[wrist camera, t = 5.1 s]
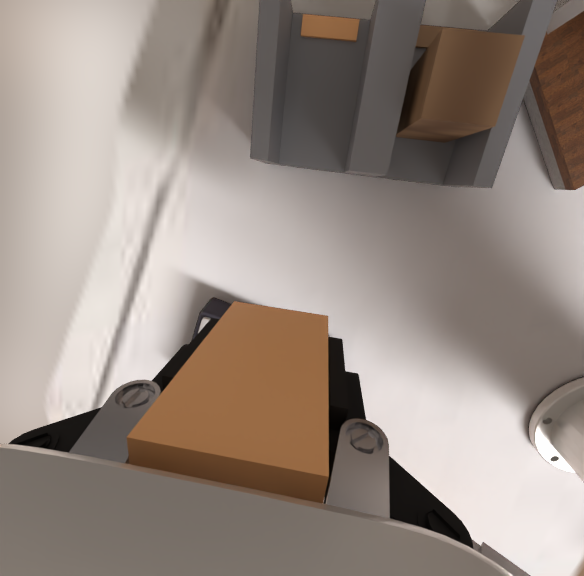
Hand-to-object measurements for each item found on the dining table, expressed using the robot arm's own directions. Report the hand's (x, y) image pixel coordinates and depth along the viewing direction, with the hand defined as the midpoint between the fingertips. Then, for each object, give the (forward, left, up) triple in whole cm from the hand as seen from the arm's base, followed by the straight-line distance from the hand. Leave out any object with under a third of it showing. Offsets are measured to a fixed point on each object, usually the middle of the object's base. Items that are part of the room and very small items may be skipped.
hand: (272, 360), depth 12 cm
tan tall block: (0, 0, -1) cm, 1 cm away
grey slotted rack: (-4, -13, -17) cm, 22 cm away
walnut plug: (-8, -13, -16) cm, 22 cm away
